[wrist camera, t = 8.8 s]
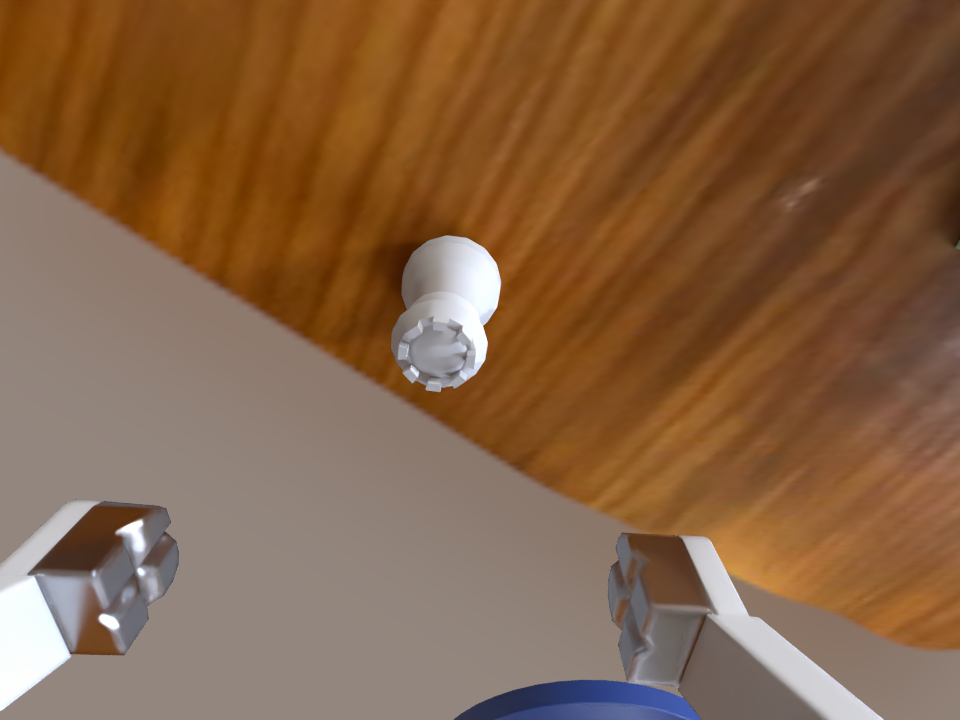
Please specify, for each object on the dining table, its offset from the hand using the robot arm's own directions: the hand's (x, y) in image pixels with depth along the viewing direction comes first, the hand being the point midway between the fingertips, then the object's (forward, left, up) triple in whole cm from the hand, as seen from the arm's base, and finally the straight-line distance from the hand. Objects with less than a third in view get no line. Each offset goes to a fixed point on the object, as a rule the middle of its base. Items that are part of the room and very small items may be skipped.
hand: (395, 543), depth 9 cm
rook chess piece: (0, 0, -16) cm, 16 cm away
